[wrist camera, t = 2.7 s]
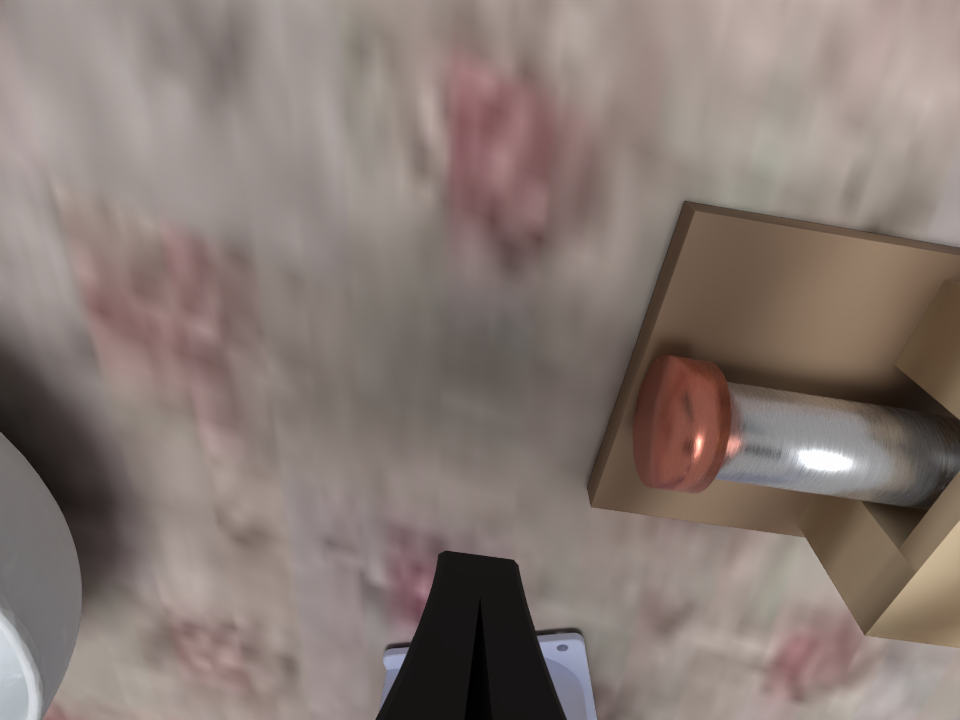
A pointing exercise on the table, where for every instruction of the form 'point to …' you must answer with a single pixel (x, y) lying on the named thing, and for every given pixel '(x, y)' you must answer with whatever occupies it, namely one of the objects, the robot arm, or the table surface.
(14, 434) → the table surface
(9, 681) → the serving bowl
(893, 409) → the pin
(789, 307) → the hitch block
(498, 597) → the robot arm
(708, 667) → the table surface
